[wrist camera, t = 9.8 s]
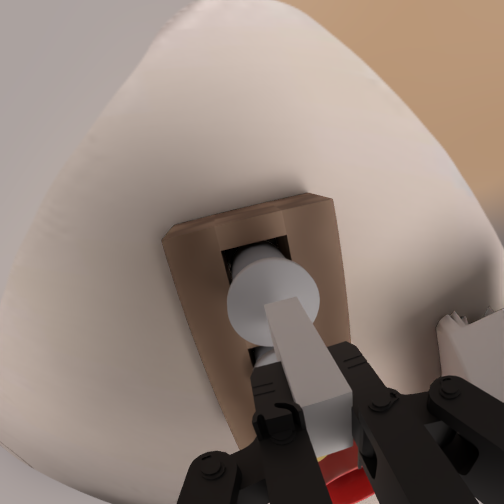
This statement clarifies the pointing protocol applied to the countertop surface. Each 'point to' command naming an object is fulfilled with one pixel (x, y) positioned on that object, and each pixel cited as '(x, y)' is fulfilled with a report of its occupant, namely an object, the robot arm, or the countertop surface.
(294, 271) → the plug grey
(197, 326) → the walnut block
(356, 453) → the flower pot
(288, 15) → the countertop surface
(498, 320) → the tissue box
